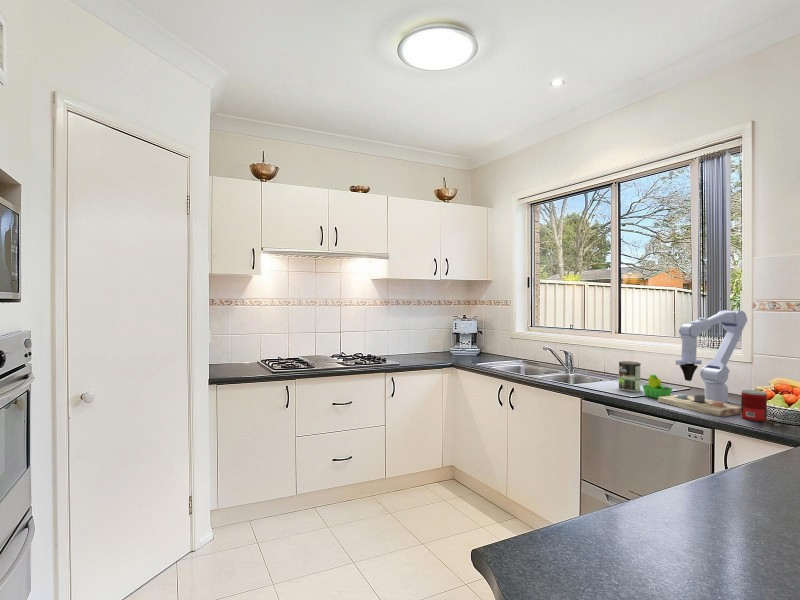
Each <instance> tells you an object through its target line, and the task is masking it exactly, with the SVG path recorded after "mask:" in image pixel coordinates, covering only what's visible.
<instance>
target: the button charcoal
mask: <svg viewBox="0 0 800 600" xmlns="http://www.w3.org/2000/svg"><path fill="white" fill-rule="evenodd" d="M693 395H694V396H693V397H694V402H696V403H701V404H702V403H705V394H700V393H699V394H698V393H695V394H693Z"/></svg>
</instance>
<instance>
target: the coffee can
mask: <svg viewBox="0 0 800 600" xmlns="http://www.w3.org/2000/svg"><path fill="white" fill-rule="evenodd" d="M641 364H642V363H641V362H638V361H629V360H628V361H626V360H625V361H619V362H618V390H620V391H623V392H640V391H641Z"/></svg>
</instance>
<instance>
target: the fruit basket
mask: <svg viewBox="0 0 800 600" xmlns="http://www.w3.org/2000/svg"><path fill="white" fill-rule="evenodd" d="M661 384H662V380H661V379H660V378H659V377H658V376H657V375H656V374H654V373H653V374H651V375H649V376H648V383H647V384H642V388H643V392H644V395H646V396H645V397H648V396H650V398H653V397H655V398H654V399H657V398H658V397H663V396H671V394H672V391H673V390H674V389H673V388H672V387H668V386H665V385H664V384H662V385H661Z"/></svg>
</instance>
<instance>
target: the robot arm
mask: <svg viewBox="0 0 800 600" xmlns="http://www.w3.org/2000/svg"><path fill="white" fill-rule="evenodd" d="M747 322H748V316H747V314H746V312H745V311H743V310H726V309H722V310H720V311H718V312H717V313H716V314H714V315H711V316H710V317H708V318H705V317H699V318H698V319H697V320H694V321H690V323H683V324H682V325H681V326H680V328H679V329H678V332H679V335H680V339H681V359H677V360H675V365H676V366H679V367H680V369H681V370H682V373H683V377H684V380H685V381H688V382H691V381H692V380H693V377H694V374H695V372H696V370H697V369H698V365H702V363H703V362H702V359H697V344H698V337H699V336H700V334H701V333H703V332H706V331H708V330H710V329H711V328H712V326H714V325H716V324H719V323H720V324H721V326H722V328H723V329H724V330H725V331H726V333H725V335H724V338H723V339H722V342H721V343H720V345H719V347H718V350H717V351H716V353H715V355H714V357H713V359H712V360H711V361H709V362H707V363H706V364H705V366H703V367H702V368H701V369H700V372H699V373H700V378H701V379H702V381H703V382H704V395H705V399H707V400H712V401H720V402H724V403H727V404H729V403H730V402H731V401H730V400H729V387H728V385H727V384H726V382H727V381H728V379H729V374H730V372H731V371H730V369H729V367H728V366H727V365H728V362H729V361H730V358H731V356H732V355H733V353H734V351H735V348H736V346H737V344H738V342H739V340H740V339H741V336H742V333H743V331H744V329H745V327H746V324H747ZM728 402H729V403H728Z"/></svg>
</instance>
